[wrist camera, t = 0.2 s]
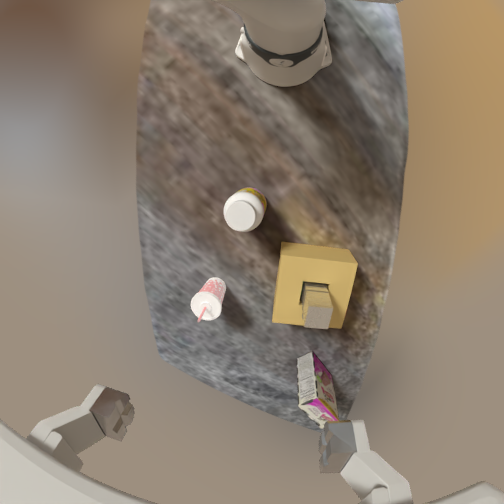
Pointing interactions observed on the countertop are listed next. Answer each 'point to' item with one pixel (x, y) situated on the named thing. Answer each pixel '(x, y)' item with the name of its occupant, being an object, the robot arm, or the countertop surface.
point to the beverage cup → (209, 300)
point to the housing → (312, 280)
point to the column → (316, 305)
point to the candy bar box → (316, 390)
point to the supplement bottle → (245, 209)
